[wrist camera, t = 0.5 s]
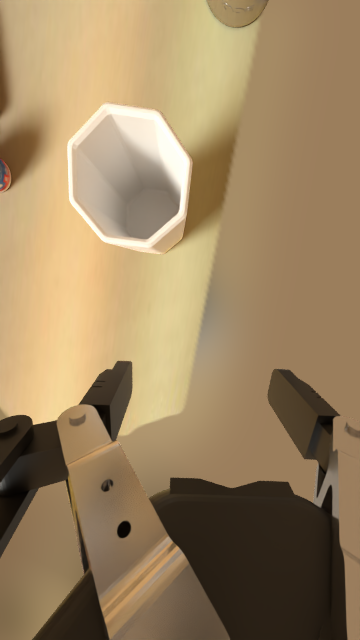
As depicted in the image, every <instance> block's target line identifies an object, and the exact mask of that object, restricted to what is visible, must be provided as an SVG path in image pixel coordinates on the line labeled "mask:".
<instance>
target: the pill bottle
mask: <svg viewBox="0 0 360 640" xmlns="http://www.w3.org/2000/svg"><path fill="white" fill-rule="evenodd" d="M10 184H11V173H10V170H9V168H8V166H7V164H6V163H5V162H4V161H3V160H2V159H1V158H0V192H4V191H6V190H7V189H8V188H9V186H10Z"/></svg>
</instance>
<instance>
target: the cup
mask: <svg viewBox="0 0 360 640" xmlns="http://www.w3.org/2000/svg"><path fill="white" fill-rule="evenodd" d="M192 165H193V162H192V158H191V157H190V155H189V154H188V152H187V150H186V149H185V147H184V146H183V144H182V143H181V141H180V140H179V138H178V137H177V135H176V133H175V132H174V130H173V129H172V127H171V126H170V124H169V123H168V121H167V120H166V118H165V117H164V115H163V113H162V112H161V111H159V110H157V109H151V108H144V107H138V106H131V105H125V104H118V103H112V102H106V103H104V104H103V105H102V106H101V107H100V108H99V109H98V110H97V111H96V112H95V113H94V114H93V115H92V117H91V118H90V119H89V120H88V121H87V122H86V123H85V124H84V125H83V126H82V127H81V128H80V129H79V131H78V132H77V133H76V134H75V135H74V136H73V137H72V138H71V139H70V140H69V142H68V176H69V200H70V202H71V204H72V205H73V206H74V207H75V209H76V210H77V211H78V212H79V213H80V214H81V216H82V217H83V218H84V219H85V220H86V222H87V223H88V224H89V225H90V226H91V228H92V229H93V230H94V231H95V232H96V234H97V235H98V236H99V237H100V238H101V239H102V241H104V242H106V243H109V244H113V245H117V246H121V247H125V248H129V249H132V250H136V251H140V252H148V253H156V254H165V253H166V252H167V251H168V250H170V249H171V248H172V247H173V246H174V245H175V244H177V243H178V242H179V241H180V240H181V239H182V238H183V233H184V227H185V222H186V216H187V209H188V200H189V191H190V183H191V174H192Z"/></svg>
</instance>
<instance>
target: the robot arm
mask: <svg viewBox="0 0 360 640" xmlns="http://www.w3.org/2000/svg"><path fill="white" fill-rule="evenodd" d="M207 2H208V4H209V7H210V9H211V11H212V12H213V14H214V15H215V17H216V18H217V19H218V20H219V21H220V22H222V23H224V24H225V25H227V26H231V27H242V26H245V25H248V24H249V23H251V22H253V21H254V20H255V19H256V18H257V17H258V16H259V15H260V14H261V13H262V11H263V10H264V8H265V6H266V4H267V2H268V0H207ZM131 394H132V362H131V361H117V363H116V364H115V366H114V368H113V369H112V370H111V369H107V370H105V371H104V372H102V373H101V374H99V376H98V377H97V379H96V380H95V382H94V383H93V385H92V387H90V389H89V390H88V392H87V393H86V395H85V396H84V398H83V399H82V401H81V402H80V403H79V405H77V406H74V407H71V408H69V409H67V410H66V411H64V412H63V413H62V414H61V415H60V416H59V417H58V419H57V420H56V421H52V422H47V423H41V424H36V425H33V423H32V419H31V418H30V417H29V416H26V415H16V416H11V417H8V418H5V419H3V420H1V421H0V557H1V556H2V554H3V552H4V550H5V548H6V546H7V545H8V543H9V541H10V539H11V538H12V536H13V534H14V532H15V530H16V528H17V527H18V525H19V523H20V521H21V519H22V517H23V516H24V514H25V512H26V510H27V509H28V507H29V505H30V503H31V501H32V500H33V498H34V496H35V494H36V492H37V491H38V489H39V488H40V487H43V486H47V485H50V484H54V483H57V482H60V481H64V480H65V483H66V488H67V493H68V498H69V502H70V507H71V512H72V517H73V521H74V526H75V532H76V537H77V543H78V548H79V553H80V558H81V564H82V569H83V573H84V575H83V577H82V578H81V579H80V581H79V582H78V583H77V584H76V585H75V587H74V588H73V589H72V590H71V592H70V593H69V594H68V595H67V597H66V598H65V599H64V600H63V602H62V603H61V604H60V605H59V607H58V608H57V609H56V611H55V612H54V613H53V614H52V616H51V617H50V618H49V619H48V621H47V622H46V623H45V624H44V626H43V627H42V628H41V629H40V631H39V632H38V633H37V634H36V636H35V637H34V638H33V639H32V640H360V422H359V421H357V420H355V419H352V418H349V417H345V416H340V415H339V414H338V413H337V412H336V411H335V410H334V409H333V408H332V407H331V406H330V405H329V404H328V403H327V402H326V401H325V400H324V399H323V398H321V396H320V395H319V394H318V393H316V391H314V390H313V388H311V387H310V386H309V385H308V384H306V383H305V382H303V381H301V380H300V379H298V378H297V377H296V376H295V375H294V374H293V373H292V372H291V371H290V370H285V369H274V370H273V372H272V376H271V381H270V385H269V390H268V401H269V404H270V405H271V407H272V408H273V410H274V412H275V413H276V415H277V416H278V418H279V420H280V421H281V423H282V424H283V426H284V428H285V429H286V431H287V432H288V434H289V435H290V437H291V439H292V440H293V442H294V444H295V445H296V447H297V448H298V450H299V451H300V453H301V454H302V456H303V458H304V459H315V460H317V461H318V465H317V469H316V478H315V489H314V500H313V503H312V502H310V501H308V500H307V499H304V498H302V497H300V496H298V495H295V494H294V493H293V491H292V489H291V487H290V485H289V483H288V482H276V481H257V482H254V483H250V484H247V485H243V486H240V487H236V488H228V487H225V486H222V485H218V484H215V483H212V482H208V481H205V480H202V479H194V478H170V489H167V490H164V491H162V492H159V493H157V494H155V495H153V496H152V497H150V498H148V496H147V494H146V492H145V490H144V489H143V487H142V485H141V483H140V481H139V479H138V477H137V475H136V474H135V472H134V470H133V468H132V466H131V464H130V462H129V460H128V459H127V457H126V455H125V453H124V451H123V449H122V447H121V445H120V444H119V442H118V441H117V440H116V438H117V435H118V432H119V430H120V427H121V424H122V421H123V418H124V415H125V412H126V409H127V406H128V404H129V401H130V398H131Z"/></svg>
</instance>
